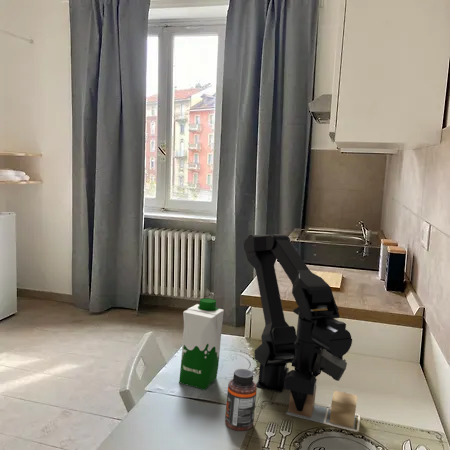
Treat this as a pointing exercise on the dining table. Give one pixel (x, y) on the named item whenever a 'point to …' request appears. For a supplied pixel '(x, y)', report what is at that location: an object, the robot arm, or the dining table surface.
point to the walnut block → (307, 406)
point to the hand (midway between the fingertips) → (301, 405)
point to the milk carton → (201, 344)
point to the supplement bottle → (241, 401)
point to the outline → (341, 426)
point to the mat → (319, 416)
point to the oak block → (343, 409)
